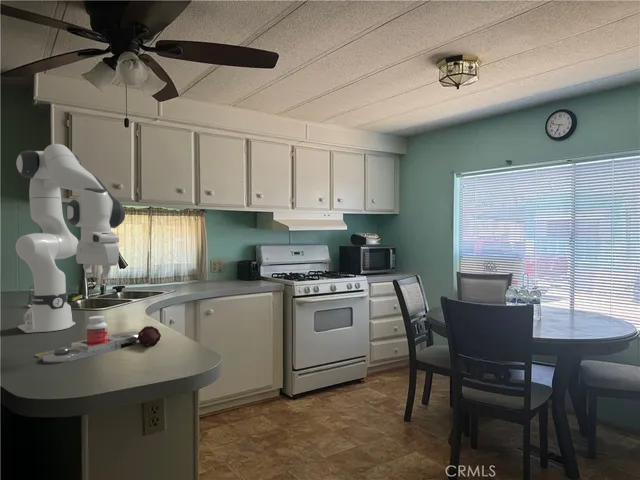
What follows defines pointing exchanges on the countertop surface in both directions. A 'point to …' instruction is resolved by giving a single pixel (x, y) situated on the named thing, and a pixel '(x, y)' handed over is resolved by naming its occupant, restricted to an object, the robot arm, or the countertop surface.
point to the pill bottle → (96, 330)
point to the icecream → (149, 336)
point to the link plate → (42, 353)
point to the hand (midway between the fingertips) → (96, 278)
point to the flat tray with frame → (90, 348)
